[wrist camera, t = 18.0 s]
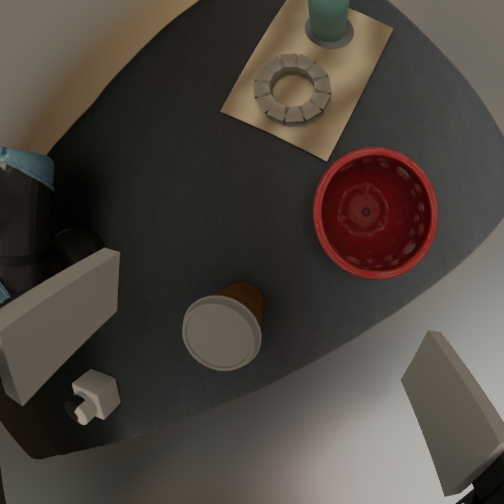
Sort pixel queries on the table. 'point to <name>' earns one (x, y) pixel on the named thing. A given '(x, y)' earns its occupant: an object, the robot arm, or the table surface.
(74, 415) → the grey block with knob
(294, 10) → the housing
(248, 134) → the table surface
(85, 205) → the table surface
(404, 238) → the plant pot
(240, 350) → the disposable coffee cup
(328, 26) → the teal cylindrical container
